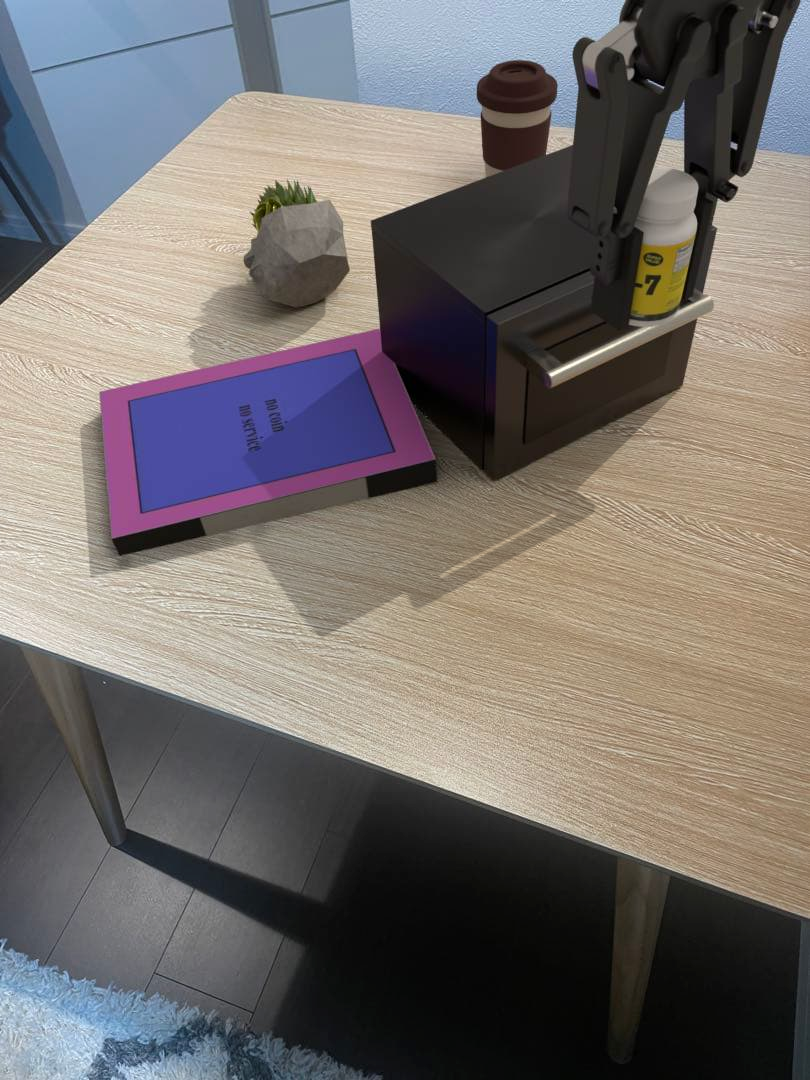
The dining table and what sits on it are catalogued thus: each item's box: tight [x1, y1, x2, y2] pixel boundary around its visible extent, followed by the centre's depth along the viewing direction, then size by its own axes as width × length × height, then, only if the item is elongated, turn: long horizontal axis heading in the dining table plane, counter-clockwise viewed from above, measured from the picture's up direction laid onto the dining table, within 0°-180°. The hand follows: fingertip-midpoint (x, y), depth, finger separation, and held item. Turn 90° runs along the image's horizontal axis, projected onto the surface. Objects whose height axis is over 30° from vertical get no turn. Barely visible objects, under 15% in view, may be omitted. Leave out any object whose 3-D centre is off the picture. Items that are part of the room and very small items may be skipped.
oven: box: [370, 144, 616, 472], centre depth 90 cm, size 18×24×18 cm
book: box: [98, 327, 438, 557], centre depth 90 cm, size 21×3×30 cm
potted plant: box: [243, 178, 351, 309], centre depth 106 cm, size 12×13×15 cm
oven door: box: [483, 224, 718, 482], centre depth 83 cm, size 5×24×18 cm, turn 123°
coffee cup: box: [476, 59, 559, 178], centre depth 117 cm, size 10×10×15 cm
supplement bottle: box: [629, 166, 698, 327], centre depth 55 cm, size 5×5×8 cm
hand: (641, 302), depth 58 cm, fingers closed on supplement bottle, 5 cm apart
